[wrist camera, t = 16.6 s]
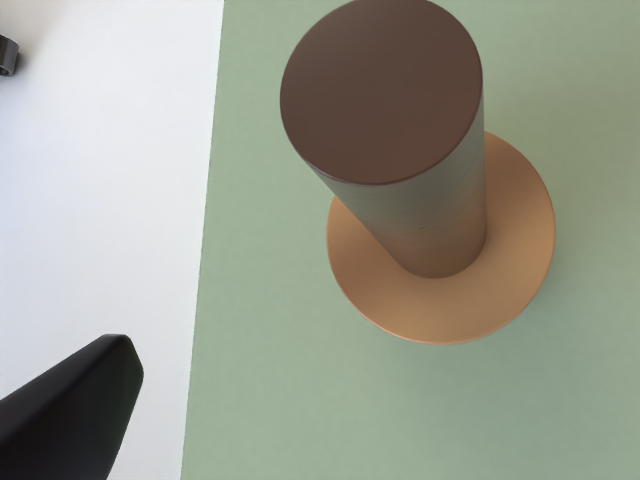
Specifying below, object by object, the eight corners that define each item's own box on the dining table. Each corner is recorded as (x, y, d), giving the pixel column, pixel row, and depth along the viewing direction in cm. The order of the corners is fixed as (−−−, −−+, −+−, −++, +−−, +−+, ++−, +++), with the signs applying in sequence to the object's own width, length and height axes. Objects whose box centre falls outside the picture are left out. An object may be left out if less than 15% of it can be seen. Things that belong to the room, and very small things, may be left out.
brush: (588, 272, 19) (763, 113, 7) (421, 386, 20) (312, 426, 8) (464, 124, 21) (431, -205, 9) (317, 232, 22) (96, 66, 10)
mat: (689, 600, 17) (693, 605, 17) (180, 526, 22) (175, 529, 21) (653, -86, 21) (656, -95, 21) (231, -33, 26) (227, -38, 25)
